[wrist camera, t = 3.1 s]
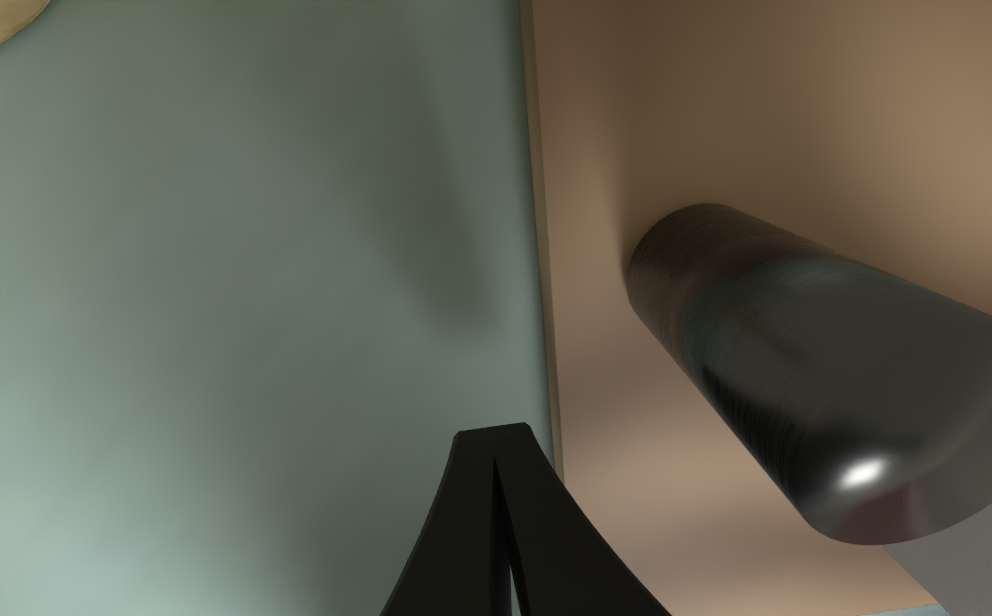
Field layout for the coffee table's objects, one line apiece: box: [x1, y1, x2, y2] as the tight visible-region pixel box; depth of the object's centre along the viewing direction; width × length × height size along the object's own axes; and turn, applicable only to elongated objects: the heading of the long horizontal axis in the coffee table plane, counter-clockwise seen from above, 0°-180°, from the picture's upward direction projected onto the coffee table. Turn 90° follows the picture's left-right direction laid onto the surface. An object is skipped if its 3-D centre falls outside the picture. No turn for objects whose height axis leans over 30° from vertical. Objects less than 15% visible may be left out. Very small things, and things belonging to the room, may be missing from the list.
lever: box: [626, 203, 992, 616], centre depth 9 cm, size 16×3×5 cm, turn 46°
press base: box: [519, 0, 992, 616], centre depth 10 cm, size 18×14×4 cm
